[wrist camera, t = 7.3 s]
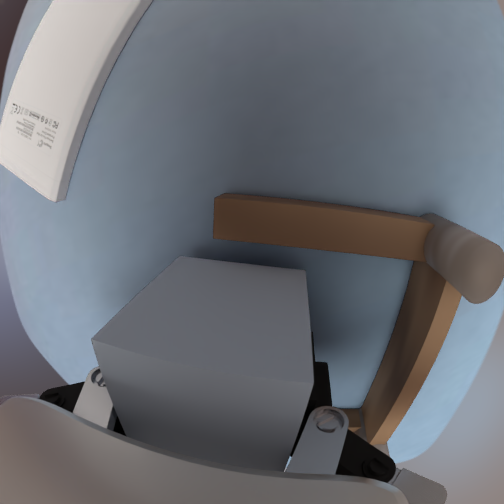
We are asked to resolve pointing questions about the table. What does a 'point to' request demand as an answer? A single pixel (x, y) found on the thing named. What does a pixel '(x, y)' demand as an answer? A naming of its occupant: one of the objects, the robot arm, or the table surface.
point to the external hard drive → (62, 88)
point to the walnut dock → (392, 246)
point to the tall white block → (213, 362)
